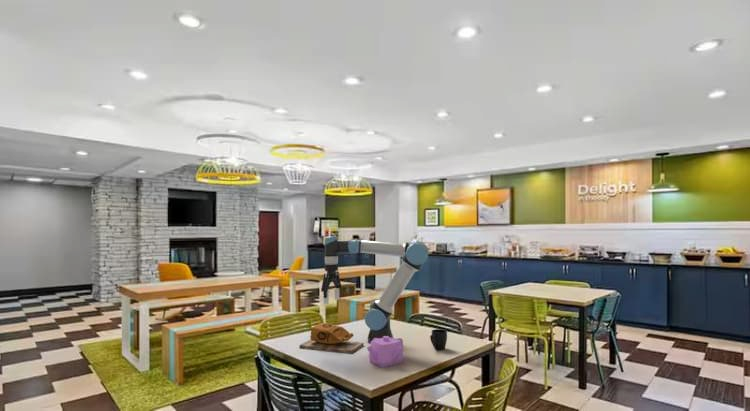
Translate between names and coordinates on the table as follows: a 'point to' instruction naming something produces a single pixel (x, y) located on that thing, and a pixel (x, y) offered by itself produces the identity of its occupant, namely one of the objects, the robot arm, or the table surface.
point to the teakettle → (386, 351)
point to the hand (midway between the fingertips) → (331, 301)
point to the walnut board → (333, 346)
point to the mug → (439, 339)
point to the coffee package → (329, 333)
